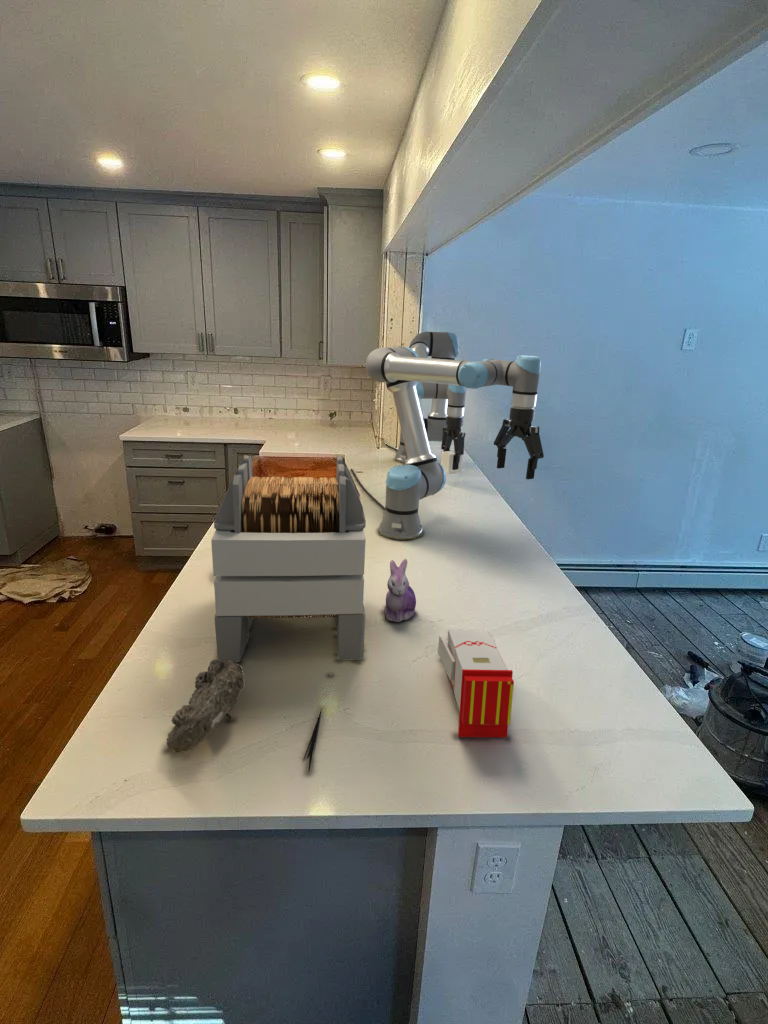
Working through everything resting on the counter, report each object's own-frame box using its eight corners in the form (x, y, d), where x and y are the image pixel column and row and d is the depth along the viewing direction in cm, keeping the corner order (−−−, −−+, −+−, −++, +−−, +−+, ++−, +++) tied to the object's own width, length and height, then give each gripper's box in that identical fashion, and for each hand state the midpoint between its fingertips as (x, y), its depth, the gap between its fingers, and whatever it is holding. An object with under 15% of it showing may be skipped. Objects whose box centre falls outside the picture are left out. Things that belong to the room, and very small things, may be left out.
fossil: (192, 660, 117) (244, 628, 112) (224, 691, 120) (276, 661, 115) (142, 746, 98) (202, 712, 93) (182, 779, 101) (242, 748, 96)
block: (448, 474, 252) (449, 454, 249) (440, 470, 257) (441, 451, 254) (460, 472, 255) (462, 453, 252) (452, 469, 260) (454, 450, 257)
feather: (331, 679, 122) (336, 673, 122) (307, 777, 96) (313, 769, 95) (324, 675, 122) (329, 669, 121) (298, 772, 95) (304, 764, 95)
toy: (488, 613, 130) (523, 677, 101) (484, 667, 133) (517, 744, 104) (435, 612, 130) (455, 676, 101) (432, 666, 133) (451, 743, 103)
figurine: (392, 627, 141) (395, 572, 136) (374, 608, 149) (376, 556, 144) (425, 619, 145) (429, 566, 140) (405, 601, 154) (408, 550, 149)
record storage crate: (236, 591, 155) (228, 445, 141) (355, 589, 159) (359, 447, 145) (214, 665, 123) (202, 486, 109) (364, 661, 127) (370, 487, 113)
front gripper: (562, 413, 168) (551, 482, 175) (504, 400, 188) (497, 462, 195) (543, 415, 164) (534, 485, 171) (487, 401, 184) (480, 464, 191)
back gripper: (475, 419, 242) (470, 472, 250) (448, 412, 257) (444, 462, 265) (461, 420, 238) (457, 473, 246) (435, 413, 253) (431, 463, 261)
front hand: (514, 473), depth 183 cm, fingers open, 13 cm apart
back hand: (450, 467), depth 255 cm, fingers closed on block, 6 cm apart
